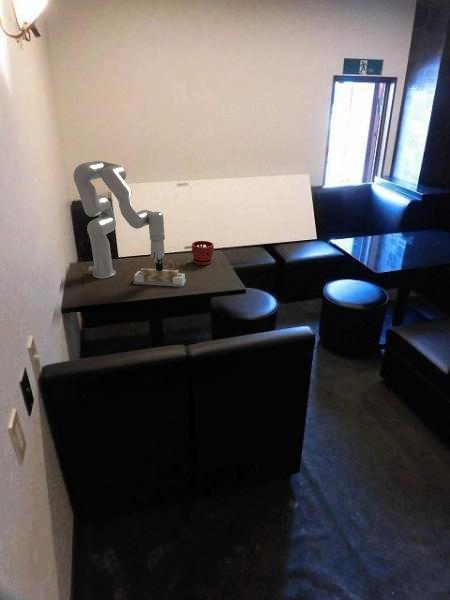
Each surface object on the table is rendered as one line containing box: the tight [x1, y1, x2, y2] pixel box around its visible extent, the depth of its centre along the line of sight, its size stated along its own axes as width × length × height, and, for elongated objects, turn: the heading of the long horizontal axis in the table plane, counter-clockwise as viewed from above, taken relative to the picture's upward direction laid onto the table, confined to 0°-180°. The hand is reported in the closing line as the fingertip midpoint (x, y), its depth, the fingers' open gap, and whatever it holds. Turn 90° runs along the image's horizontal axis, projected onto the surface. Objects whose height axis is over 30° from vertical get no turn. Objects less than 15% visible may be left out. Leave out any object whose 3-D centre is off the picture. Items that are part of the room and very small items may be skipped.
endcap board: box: [133, 270, 187, 287], centre depth 218 cm, size 27×8×4 cm, turn 82°
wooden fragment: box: [163, 259, 182, 273], centre depth 240 cm, size 26×11×1 cm, turn 4°
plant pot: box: [191, 240, 215, 266], centre depth 245 cm, size 13×13×12 cm
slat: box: [140, 267, 179, 282], centre depth 217 cm, size 20×2×6 cm, turn 82°
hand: (159, 270), depth 216 cm, fingers closed
